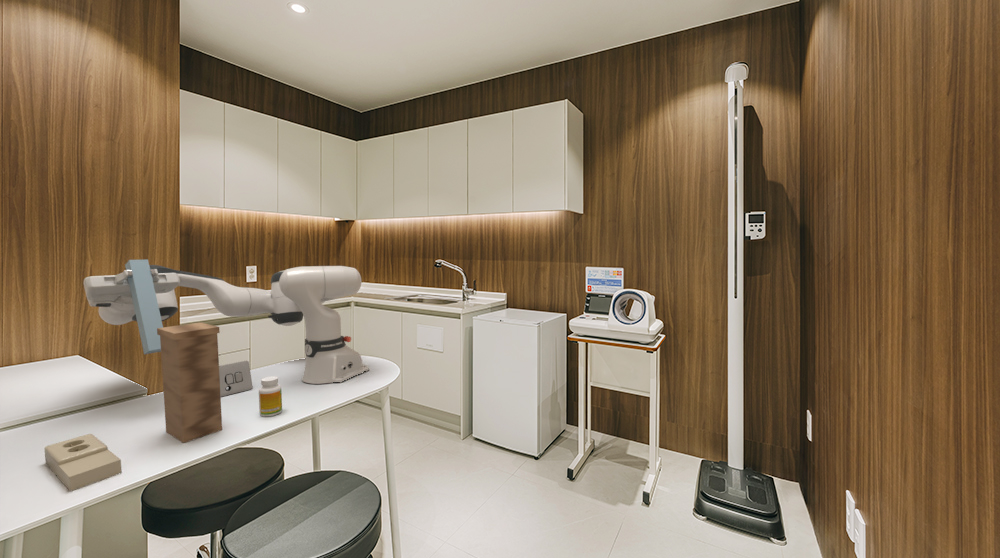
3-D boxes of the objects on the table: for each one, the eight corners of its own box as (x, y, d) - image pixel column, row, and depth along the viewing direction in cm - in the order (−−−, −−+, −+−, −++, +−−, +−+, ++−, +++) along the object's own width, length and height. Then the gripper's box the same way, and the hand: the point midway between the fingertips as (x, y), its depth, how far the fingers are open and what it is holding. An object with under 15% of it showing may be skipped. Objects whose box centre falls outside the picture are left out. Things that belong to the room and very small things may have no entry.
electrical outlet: (68, 472, 74) (43, 446, 83) (70, 493, 74) (45, 464, 83) (120, 455, 80) (91, 432, 89) (121, 474, 80) (93, 449, 89)
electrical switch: (218, 398, 119) (216, 367, 119) (213, 395, 122) (210, 365, 122) (253, 389, 126) (251, 360, 126) (247, 387, 130) (245, 359, 129)
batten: (143, 264, 114) (148, 259, 112) (162, 351, 111) (167, 347, 109) (125, 265, 111) (129, 259, 108) (144, 354, 107) (149, 350, 105)
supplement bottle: (285, 412, 109) (283, 378, 108) (263, 419, 105) (261, 383, 104) (278, 407, 113) (277, 374, 112) (257, 413, 109) (255, 378, 108)
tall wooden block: (206, 419, 104) (200, 322, 102) (224, 429, 99) (219, 326, 97) (163, 432, 97) (156, 328, 95) (180, 444, 91) (174, 333, 89)
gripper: (174, 299, 125) (189, 279, 118) (81, 307, 107) (93, 284, 100) (169, 281, 126) (184, 260, 119) (76, 286, 108) (88, 262, 102)
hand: (141, 271), depth 110 cm, fingers closed on batten, 4 cm apart
